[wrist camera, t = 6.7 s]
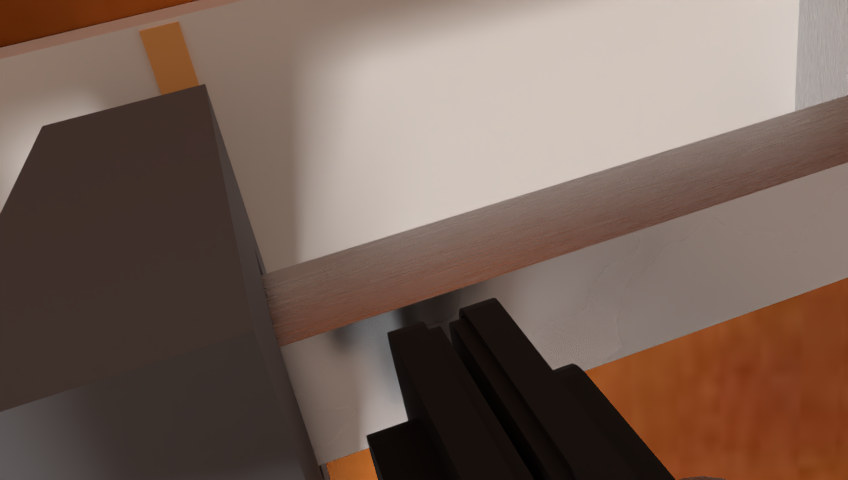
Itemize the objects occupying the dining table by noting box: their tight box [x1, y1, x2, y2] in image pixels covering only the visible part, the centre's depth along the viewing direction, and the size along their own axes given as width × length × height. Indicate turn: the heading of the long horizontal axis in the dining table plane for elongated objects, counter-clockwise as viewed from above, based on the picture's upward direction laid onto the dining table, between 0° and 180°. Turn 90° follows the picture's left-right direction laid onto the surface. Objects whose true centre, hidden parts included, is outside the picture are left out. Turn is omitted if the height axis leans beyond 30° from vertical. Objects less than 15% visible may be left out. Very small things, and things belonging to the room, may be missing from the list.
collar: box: [0, 84, 330, 480], centre depth 12 cm, size 3×8×9 cm, turn 11°
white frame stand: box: [261, 0, 848, 465], centre depth 16 cm, size 25×4×7 cm, turn 101°
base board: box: [0, 0, 799, 273], centre depth 20 cm, size 25×10×2 cm, turn 101°
